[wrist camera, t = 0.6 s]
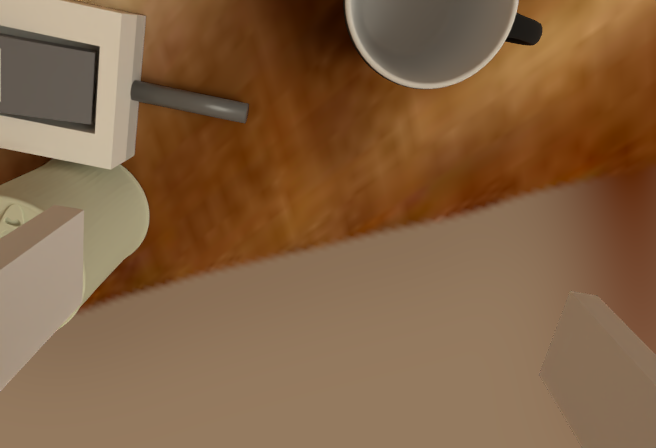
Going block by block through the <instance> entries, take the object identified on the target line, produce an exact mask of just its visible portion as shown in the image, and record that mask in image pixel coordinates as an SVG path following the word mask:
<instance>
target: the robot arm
mask: <svg viewBox="0 0 656 448" xmlns="http://www.w3.org/2000/svg"><path fill="white" fill-rule="evenodd" d="M83 240H84V210H83V209H77V208H71V207H65V206H59V205H53V206H52V207H50V208H48V209H47V210H45V211H44V212H42V213H40V214H39V215H37V216H36V217H34V218H32V219H31V220H29V221H28V222H26V223H24V224H23V225H21V226H20V227H18V228H16V229H15V230H13V231H12V232H10V233H8V234H7V235H5V236H4V237H2V238H0V391H1V390H2V389H3V388H4V387H5V386H6V384H8V382H9V381H10V380H11V379H12V378H13V377H14V376H15V375H16V374H17V373H18V371H20V369H21V368H22V367H23V366H24V365H25V364H26V363H27V362H28V361H29V360H30V359H31V358H32V356H33V355H34V354H35V353H36V352H37V351H38V350H39V349H40V348H41V347H42V346H43V345H44V343H45V342H46V341H47V340H48V339H49V338H50V337H51V336H52V335H53V334H54V333H55V332H56V330H57V329H58V328H59V327H60V326H61V325H62V324H63V323H64V322H65V321H66V320H67V319H68V317H69V316H70V315H71V314H72V313H73V312H74V311H75V310H76V309H77V308H78V307H79V306H80V304H81V303H82V293H83ZM539 376H540V378H541V379H542V381H543V383H544V384H545V386H546V388H547V390H548V391H549V393H550V395H551V396H552V398H553V399H554V401H555V403H556V404H557V406H558V408H559V410H560V412H561V413H562V415H563V417H564V418H565V420H566V422H567V423H568V425H569V427H570V428H571V430H572V432H573V434H574V435H575V437H576V438H577V440H578V442H579V444H580V445H581V447H582V448H656V355H655V354H654V353H653V352H652V351H651V350H650V349H649V348H648V347H647V346H646V345H645V344H644V343H643V342H642V341H641V339H640V338H639V337H638V336H636V334H635V333H634V332H633V331H632V330H631V329H630V328H629V327H628V326H627V325H626V324H625V323H624V322H623V321H622V320H621V319H620V318H619V317H618V316H617V315H616V314H614V312H613V311H612V310H611V309H610V308H609V307H608V306H607V305H606V304H605V303H604V302H603V301H602V300H601V299H600V298H599V297H598V296H597V295H590V294H585V293H579V292H573V291H570V293H569V296H568V298H567V301H566V303H565V306H564V309H563V311H562V315H561V317H560V319H559V322H558V325H557V327H556V330H555V333H554V335H553V338H552V341H551V343H550V346H549V349H548V352H547V354H546V357H545V360H544V362H543V365H542V368H541V370H540V373H539Z"/></svg>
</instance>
